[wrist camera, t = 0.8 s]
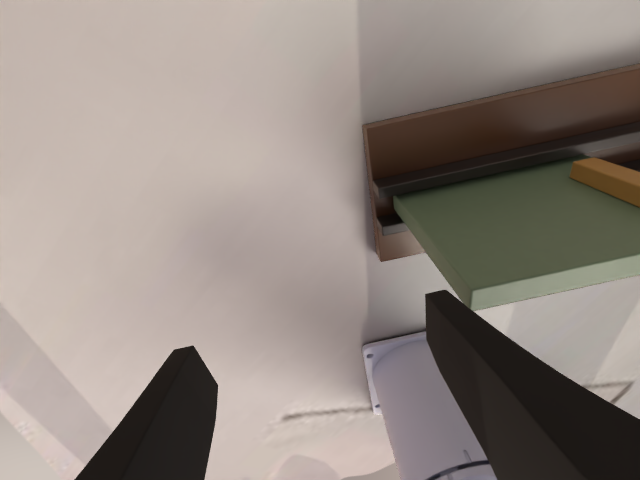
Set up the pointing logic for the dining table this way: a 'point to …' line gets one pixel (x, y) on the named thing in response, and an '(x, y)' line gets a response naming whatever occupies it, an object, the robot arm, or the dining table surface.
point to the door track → (498, 141)
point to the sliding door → (530, 229)
